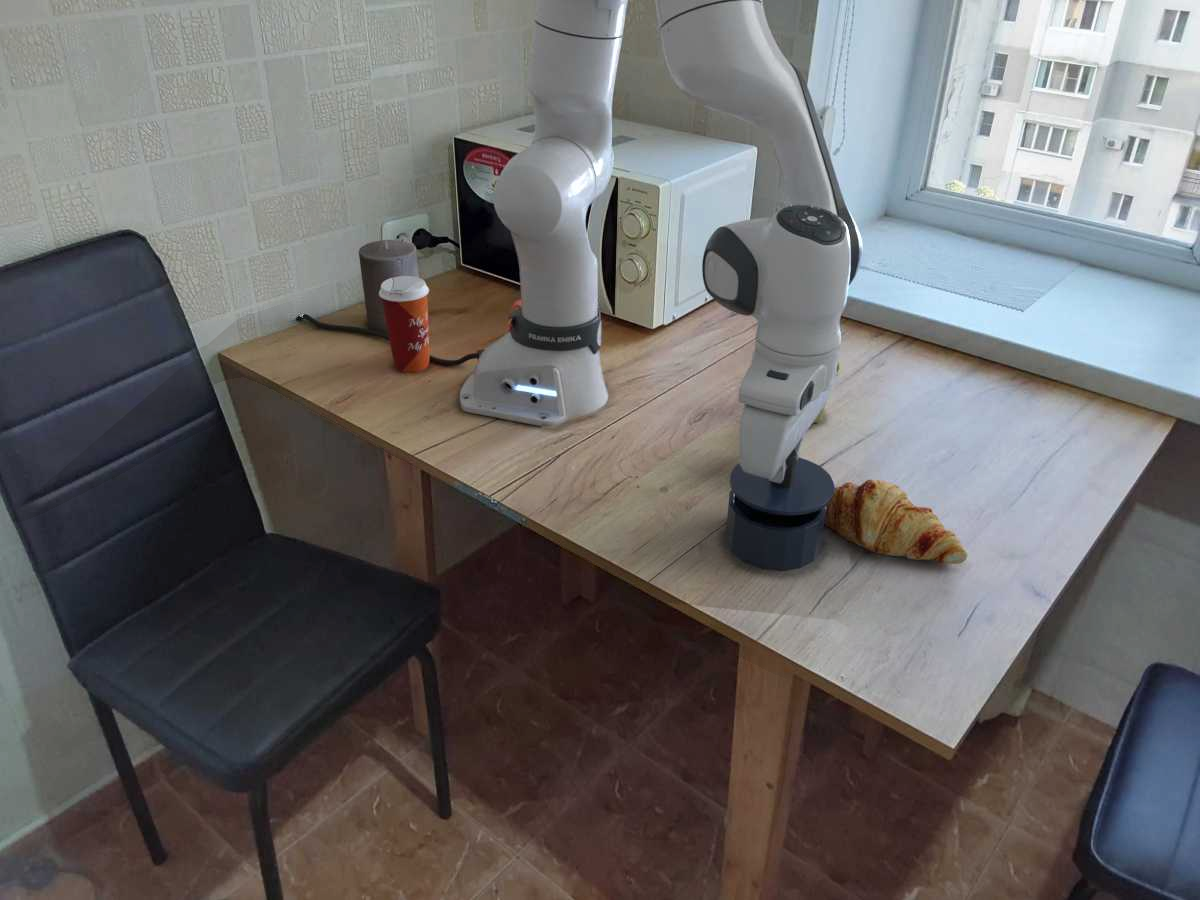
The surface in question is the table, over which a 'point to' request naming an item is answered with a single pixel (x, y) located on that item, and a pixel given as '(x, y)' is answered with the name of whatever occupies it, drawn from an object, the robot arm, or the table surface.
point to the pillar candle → (384, 274)
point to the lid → (786, 488)
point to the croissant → (890, 523)
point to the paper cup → (407, 321)
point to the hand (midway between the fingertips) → (782, 470)
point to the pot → (773, 537)
